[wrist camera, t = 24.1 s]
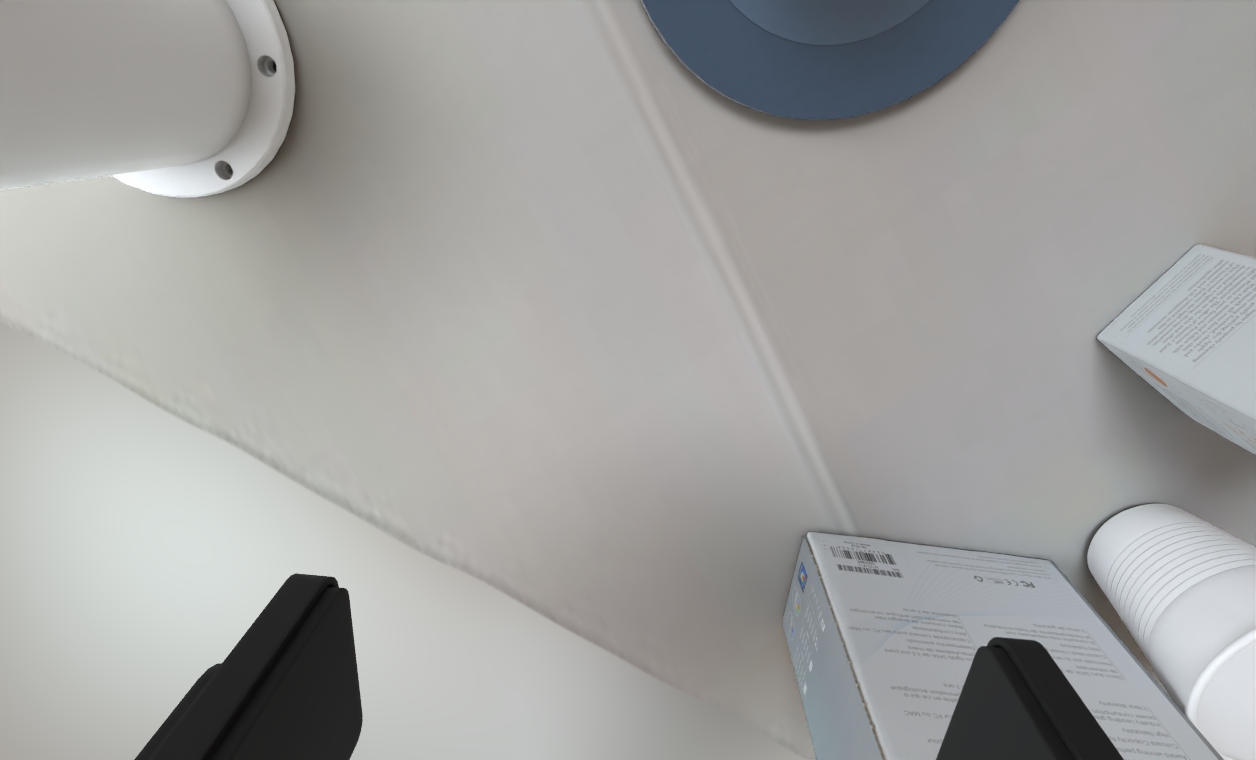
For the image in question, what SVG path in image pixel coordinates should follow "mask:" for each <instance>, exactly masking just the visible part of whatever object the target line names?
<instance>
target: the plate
mask: <svg viewBox="0 0 1256 760" xmlns="http://www.w3.org/2000/svg"><path fill="white" fill-rule="evenodd" d="M640 1H641V3H642V5H643V7H644V9H645V11H646V13H647V15H648V17H649V19H650V21H651V23H652V25H653V26H654V28H655V29H656V31H657V32H658V34H659V35H660V37H661V38H662V40H663V41H664V43H665V44H666V46H667V47H668V48H669V49H670V50H671V52H672V53H673V54H674V55H675V56H676V57H677V58H678V60H679V61H680V62H681V63H682V64H683V65H684V66H685V67H686V68H687V69H688V70H689V71H690V72H691V73H693V74H694V75H695V76H696V77H697V78H698V79H699V80H701V81H702V82H703V83H704V84H706V85H707V86H709V87H710V88H712V89H713V90H715V91H716V92H718V93H719V94H721V95H722V96H724V97H726V98H728V99H730V100H732V101H734V102H736V103H738V104H741V105H743V106H745V107H747V108H750V109H753V110H756V111H760V112H763V113H767V114H770V115H774V116H781V117H788V118H795V119H802V120H831V119H838V118H846V117H853V116H858V115H862V114H866V113H869V112H873V111H877V110H880V109H884V108H886V107H888V106H891V105H893V104H896V103H898V102H901V101H903V100H905V99H908V98H910V97H912V96H913V95H915V94H917V93H919V92H921V91H922V90H924V89H926V88H928V87H930V86H931V85H933V84H935V83H936V82H938V81H939V80H940V79H942V78H943V77H945V76H946V75H947V74H949V73H950V72H951V71H953V70H954V69H956V68H957V67H958V66H960V65H961V64H962V63H963V62H964V61H965V60H966V59H967V58H969V57H970V56H971V55H972V54H973V53H974V52H975V51H976V50H977V49H978V48H980V47H981V46H982V45H983V44H984V43H985V42H986V40H987V39H988V38H989V37H990V36H991V35H992V34H993V33H994V31H995V30H996V29H997V28H998V27H999V26H1000V25H1001V24H1002V23H1003V21H1004V20H1005V19H1006V18H1007V16H1008V15H1009V14H1010V12H1011V11H1012V9H1013V8H1014V7H1015V5H1016V4H1017V2H1018V1H1019V0H640Z"/></svg>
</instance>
